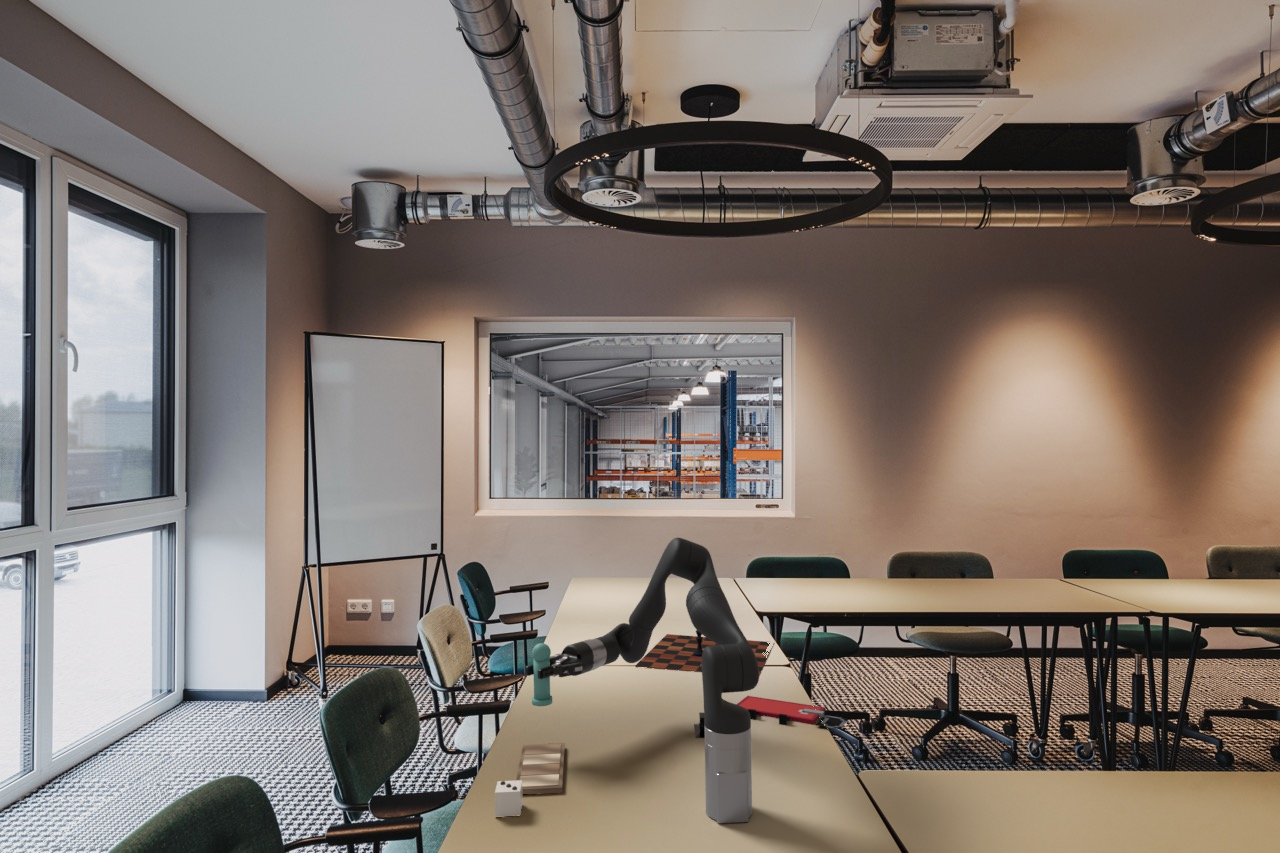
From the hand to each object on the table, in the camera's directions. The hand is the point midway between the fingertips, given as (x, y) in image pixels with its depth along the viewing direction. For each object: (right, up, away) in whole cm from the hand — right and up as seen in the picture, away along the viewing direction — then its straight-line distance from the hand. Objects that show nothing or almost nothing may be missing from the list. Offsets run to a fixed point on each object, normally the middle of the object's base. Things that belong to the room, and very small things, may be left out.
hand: (532, 672), depth 182 cm
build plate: (+42, -20, +16) cm, 49 cm away
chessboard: (+49, -21, +83) cm, 99 cm away
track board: (+3, -20, -6) cm, 21 cm away
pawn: (+2, -8, +2) cm, 8 cm away
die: (-1, -20, -25) cm, 32 cm away
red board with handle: (+65, -20, +26) cm, 73 cm away
